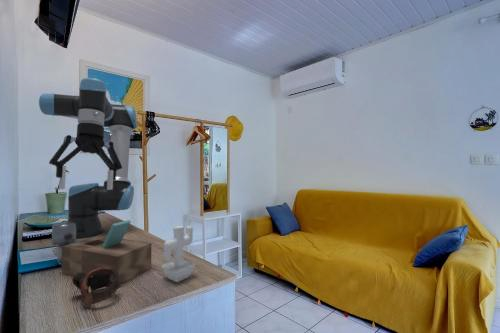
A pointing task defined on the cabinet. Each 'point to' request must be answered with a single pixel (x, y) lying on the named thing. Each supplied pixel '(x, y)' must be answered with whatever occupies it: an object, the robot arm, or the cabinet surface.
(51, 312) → the cabinet surface
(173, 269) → the figurine
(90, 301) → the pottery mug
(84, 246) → the block
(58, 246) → the pin
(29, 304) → the cabinet surface
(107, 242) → the latch
